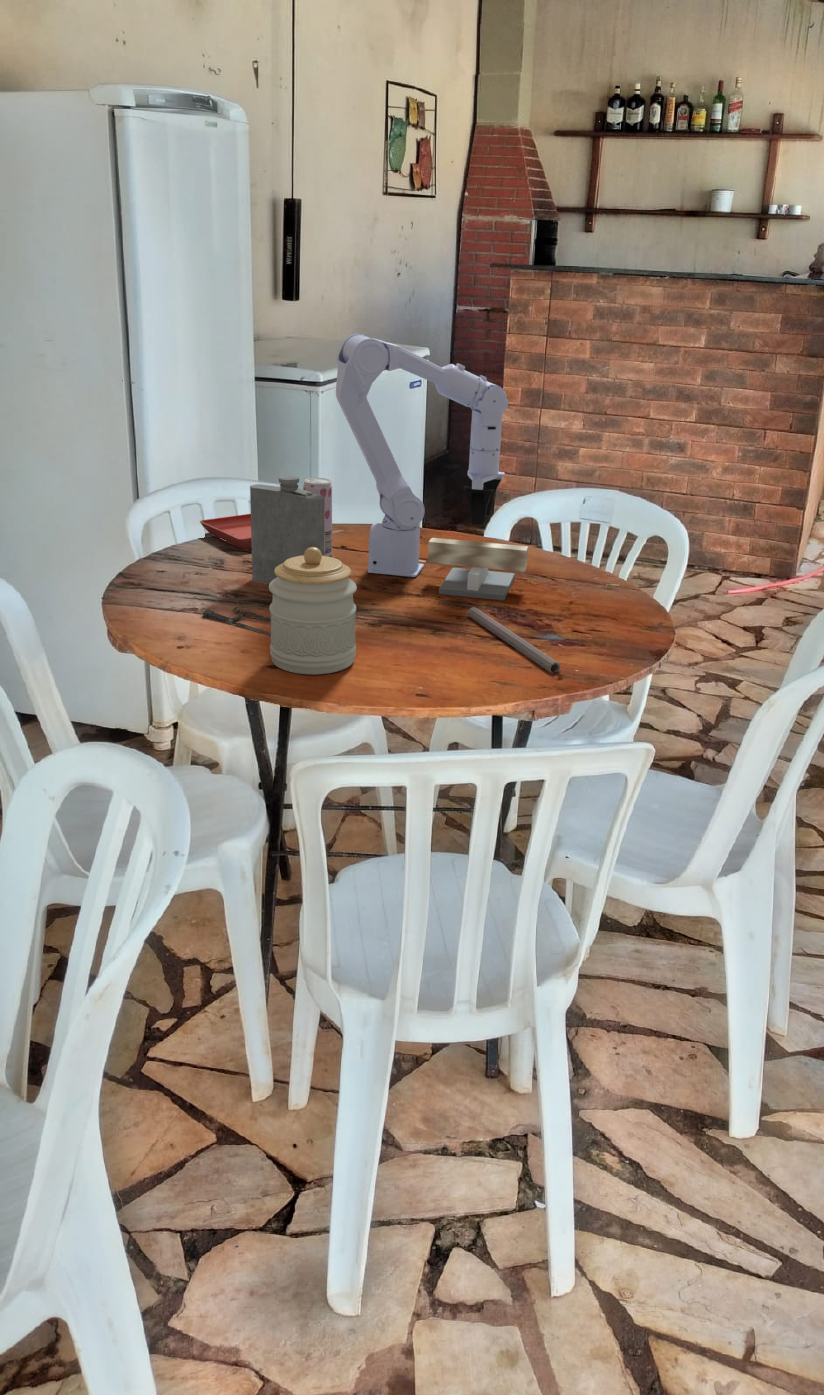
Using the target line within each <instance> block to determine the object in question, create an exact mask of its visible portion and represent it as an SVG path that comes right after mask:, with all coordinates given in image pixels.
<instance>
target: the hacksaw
mask: <svg viewBox="0 0 824 1395" xmlns="http://www.w3.org/2000/svg"><path fill="white" fill-rule="evenodd" d="M239 608H240V606H235V607H233V611H234V613H237V616H234V617H232V618H231V617H228V616H225V615H222V614H220V613H217V612H216V611H215V610H212V609H206V610H204V611H203V612H201V614H202V618H204V619H210V620H214V621H217V622H221V623H225V624H229V625H235V626H237V627H240V628H244V629H248V630H250V631H253V632H257V633H260V634H263V635H266V636H269V637H271V631H266V630H263V629H261V628H257V627H254V626H252V625H248V624H244V623H241V622H239V621H242V620H243V619H244V618H245V617H248V618H251V619H254V620H258V621H262V622H266V623H268V624H271V617H268V616H264V615H260V614H256V613H254V612H252V611H249V607H246V606H241V608H244V609H248V610H240V609H239ZM238 609H239V610H238Z"/></svg>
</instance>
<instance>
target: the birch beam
mask: <svg viewBox="0 0 824 1395" xmlns="http://www.w3.org/2000/svg"><path fill="white" fill-rule="evenodd" d="M427 546H428V550H427V551H428V552H427V564H434V565H435V564H436V565H437V564H438V565H446V566H447V565H448V566H458V567H459V566H460V567H466V568H467V567H469V568H472V567H478V568H488V570H489V569H490V570H501V571H508V572H509V571H510V572H511V571H512V572H521V573H522V572H523V573H525V572H526V570H527V568H528V557H529V556H528V552H529V546H528V545H527V546H526V545H518V544H504V543H498V542H497V543H496V542H483V541H472V540H464V539H463V540H462V539H451V538H441V537H440V538H438V537H431V538H430V539H429V541H428V545H427Z"/></svg>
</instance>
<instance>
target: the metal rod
mask: <svg viewBox="0 0 824 1395" xmlns="http://www.w3.org/2000/svg"><path fill="white" fill-rule="evenodd" d="M467 617H469V618H470V619H472V620H473V621H474V622H475V623H477V624H479V626H480V625H481V626H482V627H483V628H485V629H486V630H487V631H489V632H491V633H492V634H494V635H495V636H496V637H498V638H499V639H500V640H502V641H503V642H505V643H507V645H509V646H511V647H512V648H514V649H515V650H517V651H518V652H519V653H521V654H522V655H524V656H525V657H527V658H528V659H529V660H531V661H532V662H534V663H535V664H537V665H538V666H540V667H541V668H542V669H544V670H545V671H547V672H548V673H550V674H551V673H552V674H553V673H554V672H555V673H559V672H560V670H561V664H560V663H559V662H558V661H556V660H555V659H553V658H552V657H550V656H549V655H547V653H544V652H543V651H542V650H540V649H539V648H537V647H535V646H534V645H533V644H531V643H530V642H528V641H527V640H525V639H524V638H522V637H520V636H519V635H517V634H516V633H514V631H511V630H510V629H508V628H507V627H505V626H504V625H503V624H501V623H499V622H498V621H497V620H496V619H494V618H492V617H490V616H489V615H487V613H484V612H483V611H481V610H480V609H479V608H477V607H475V606H472V607H470V608H469V609H468V610H467ZM553 671H554V672H553Z"/></svg>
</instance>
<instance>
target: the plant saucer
mask: <svg viewBox="0 0 824 1395" xmlns="http://www.w3.org/2000/svg"><path fill="white" fill-rule="evenodd" d="M199 523H200V524H201V526H202V527H203V528H204V530H206V531H207V532H208V533H209V534H210V536H213V537H214V538H215V537H216V538H218V539H219V538H222V539H224V540H226V541H227V542H226V541H225V542H226V543H228V542H229V543H228V544H230V543H231V544H230V545H232V544H233V545H232V546H234V545H235V546H234V547H236V546H237V547H236V548H238V547H239V549H240V548H241V549H240V550H243V549H247V550H251V549H250V548H252V543H251V513H245V514H237V515H232V516H231V515H230V516H224V517H217V518H208V519H201V520H199ZM236 533H237V534H236ZM231 534H234V535H231Z"/></svg>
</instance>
